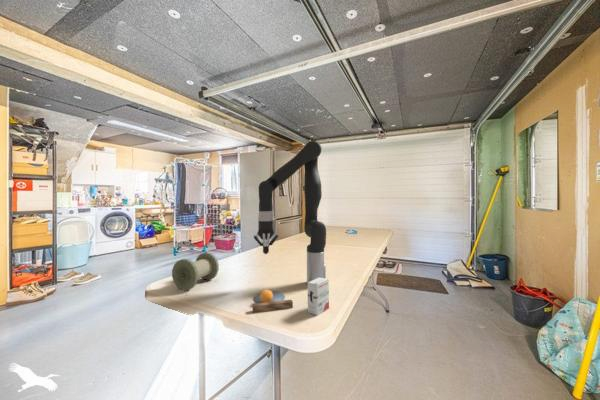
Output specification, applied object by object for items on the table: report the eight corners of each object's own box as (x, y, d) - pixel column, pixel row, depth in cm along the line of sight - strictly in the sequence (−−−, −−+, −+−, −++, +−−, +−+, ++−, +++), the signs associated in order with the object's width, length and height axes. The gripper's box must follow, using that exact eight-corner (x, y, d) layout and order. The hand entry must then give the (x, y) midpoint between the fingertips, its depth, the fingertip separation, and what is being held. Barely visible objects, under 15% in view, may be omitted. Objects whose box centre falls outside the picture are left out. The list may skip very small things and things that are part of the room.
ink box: (319, 304, 94) (319, 276, 94) (329, 308, 90) (329, 279, 91) (307, 312, 87) (307, 281, 87) (317, 316, 84) (317, 284, 84)
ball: (271, 288, 99) (272, 288, 94) (273, 301, 97) (274, 302, 92) (259, 290, 98) (258, 291, 93) (261, 304, 96) (260, 305, 91)
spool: (195, 292, 106) (195, 261, 107) (171, 288, 111) (172, 258, 112) (218, 280, 122) (218, 253, 122) (196, 277, 127) (197, 251, 127)
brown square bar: (291, 305, 92) (291, 299, 93) (292, 307, 91) (292, 301, 91) (252, 310, 88) (252, 304, 88) (252, 312, 86) (252, 306, 86)
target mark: (281, 290, 109) (281, 289, 109) (287, 302, 95) (287, 302, 95) (252, 293, 105) (252, 292, 105) (254, 306, 91) (254, 306, 91)
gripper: (253, 220, 109) (253, 256, 108) (279, 220, 112) (279, 254, 112) (252, 219, 116) (252, 252, 116) (277, 219, 119) (277, 251, 119)
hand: (265, 253), depth 114 cm, fingers closed
